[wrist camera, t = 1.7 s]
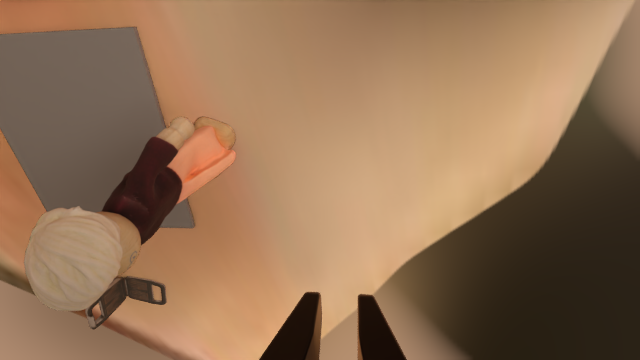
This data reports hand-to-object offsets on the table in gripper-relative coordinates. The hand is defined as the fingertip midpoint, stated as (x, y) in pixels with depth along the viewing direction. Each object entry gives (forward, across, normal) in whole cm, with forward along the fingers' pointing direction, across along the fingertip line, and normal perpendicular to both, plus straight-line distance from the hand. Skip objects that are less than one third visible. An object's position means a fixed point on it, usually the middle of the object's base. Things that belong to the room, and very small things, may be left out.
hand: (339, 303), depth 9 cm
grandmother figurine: (+13, +9, 0) cm, 16 cm away
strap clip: (+13, +21, +14) cm, 28 cm away
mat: (+12, +18, 0) cm, 22 cm away
